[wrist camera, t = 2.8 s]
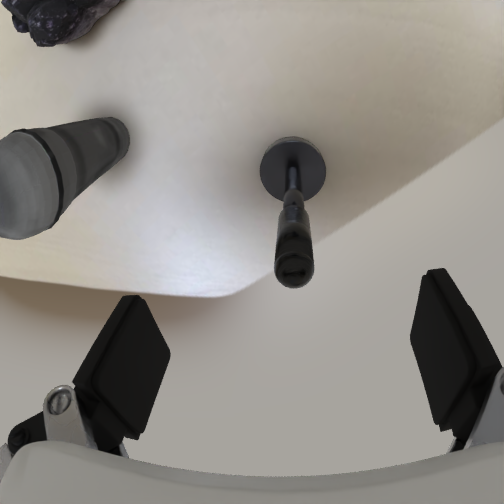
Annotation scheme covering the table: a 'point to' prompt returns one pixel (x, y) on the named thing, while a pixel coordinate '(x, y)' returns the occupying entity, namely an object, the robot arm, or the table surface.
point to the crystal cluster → (56, 18)
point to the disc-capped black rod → (293, 204)
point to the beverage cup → (53, 170)
